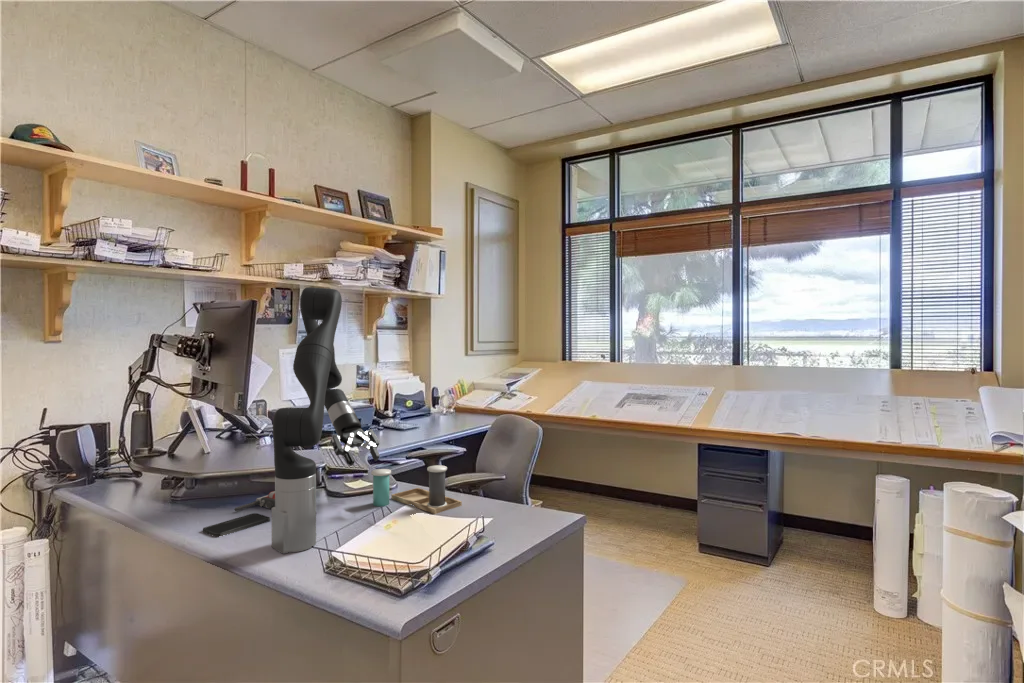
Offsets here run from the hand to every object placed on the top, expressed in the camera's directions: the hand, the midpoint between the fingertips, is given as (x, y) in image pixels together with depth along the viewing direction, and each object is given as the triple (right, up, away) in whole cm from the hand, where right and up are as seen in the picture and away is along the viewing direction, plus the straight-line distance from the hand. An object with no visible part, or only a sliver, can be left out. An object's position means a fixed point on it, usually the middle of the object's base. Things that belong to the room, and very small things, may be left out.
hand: (365, 461), depth 169 cm
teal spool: (+6, -13, -5) cm, 15 cm away
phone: (-29, -13, -20) cm, 37 cm away
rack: (+19, -13, -3) cm, 23 cm away
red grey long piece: (-27, -13, -2) cm, 30 cm away
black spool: (+22, -11, -6) cm, 26 cm away
